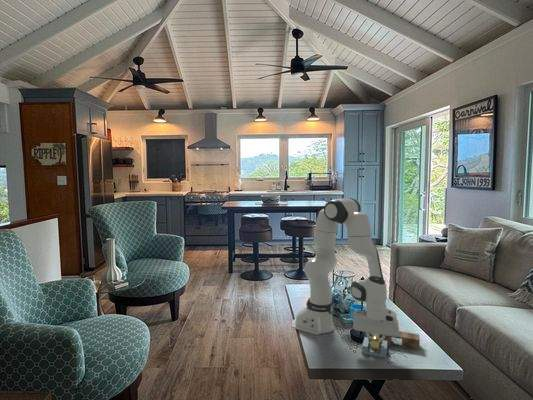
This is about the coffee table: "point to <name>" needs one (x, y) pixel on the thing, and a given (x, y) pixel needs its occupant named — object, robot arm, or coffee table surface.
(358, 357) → the coffee table surface
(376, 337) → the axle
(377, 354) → the cradle
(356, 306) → the mug
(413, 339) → the beam
